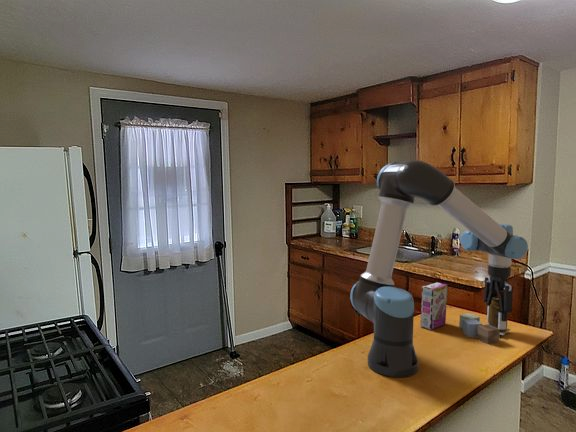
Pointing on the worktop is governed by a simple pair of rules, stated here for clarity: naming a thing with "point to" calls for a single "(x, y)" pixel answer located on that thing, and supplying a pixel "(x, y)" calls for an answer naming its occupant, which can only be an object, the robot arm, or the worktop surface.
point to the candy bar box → (433, 305)
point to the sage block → (467, 316)
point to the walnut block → (488, 334)
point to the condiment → (496, 315)
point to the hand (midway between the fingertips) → (496, 325)
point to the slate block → (470, 327)
